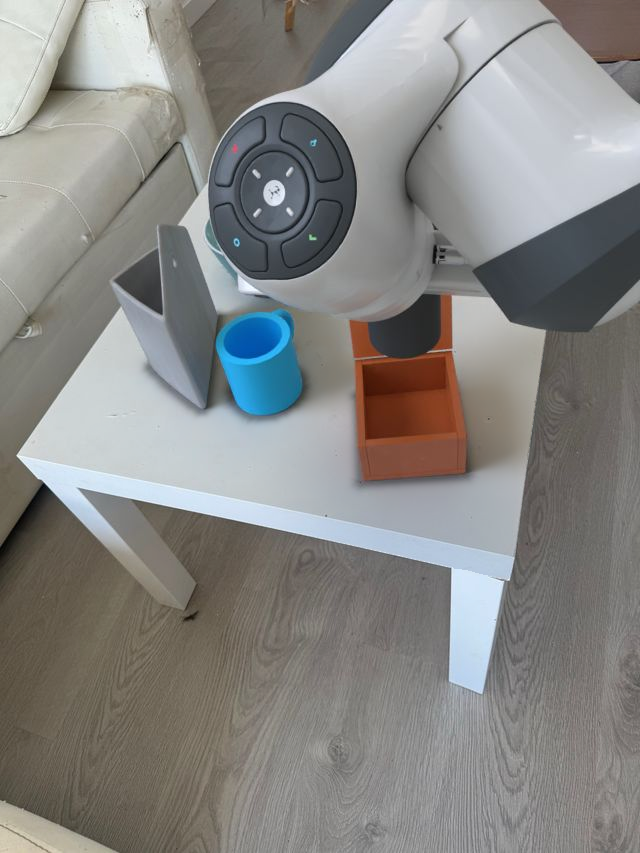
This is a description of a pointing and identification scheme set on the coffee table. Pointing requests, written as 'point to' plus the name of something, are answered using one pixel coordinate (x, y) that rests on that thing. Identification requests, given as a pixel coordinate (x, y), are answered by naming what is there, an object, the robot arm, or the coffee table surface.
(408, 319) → the tapered grey cylinder
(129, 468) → the coffee table surface
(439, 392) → the orange open box
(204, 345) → the planter
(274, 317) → the mug
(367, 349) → the orange box lid
